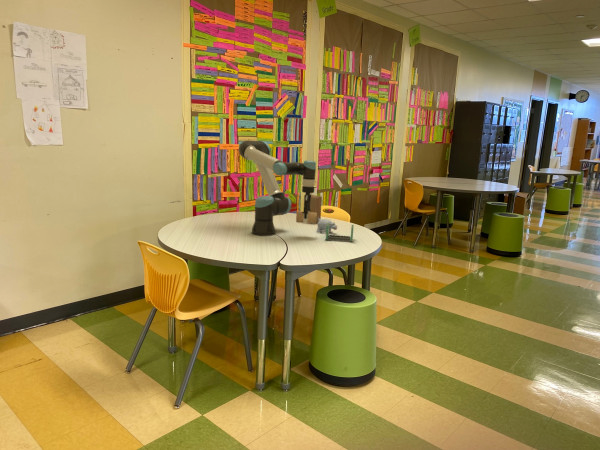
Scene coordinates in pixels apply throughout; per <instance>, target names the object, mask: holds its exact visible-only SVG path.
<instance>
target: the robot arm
mask: <svg viewBox="0 0 600 450" xmlns="http://www.w3.org/2000/svg"><path fill="white" fill-rule="evenodd" d="M238 154H239V155H240V156H241V157H242V158H243V159H245V160H248V161H252V162H253V164H255V165H256V167H257V170H258V171H259V174H260V177H261V180H262V182H263V185H264V188H265V190H266V193H267V195H264V196H263V195H262V196H258V197H257V198H255V201H254V202H255V203H254V223H253V225H252V228H251V233H252V234H253V235H257V236H273V235H275V234H276V229H275V228H276V227H275V224H274V217H276V216H284V215H287V214H288V213H289V212H290V211H291V209H292V200H291V199H290V197H287V196H286V195H285V192H283V191H281V189H280V186H279V184H278V181H277V179H276V176H290V175H291V176H294V175H295V176H296V175H299V176H302V184H301V185H302V189H301V192H302V193H305V194H304V196H303V198H304V199H303V211H301V212H302V213H304V215H303V223H302V224H303V225H304V224H305V225H308V223H307V222H308V212H310V211H311V210H310V201H311V195H312V194H314V193H315V183H317V182H316V172H317V162H316V161H315V160H304V161H303V162H298V161H290V162H284V161H282V160H280V159H278V158H276V157H274V156H272V155H271V147H270V145H269V144H268V142H266V141H263V140H244V141H242V142H241V143H240V144H239V145H238Z"/></svg>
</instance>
